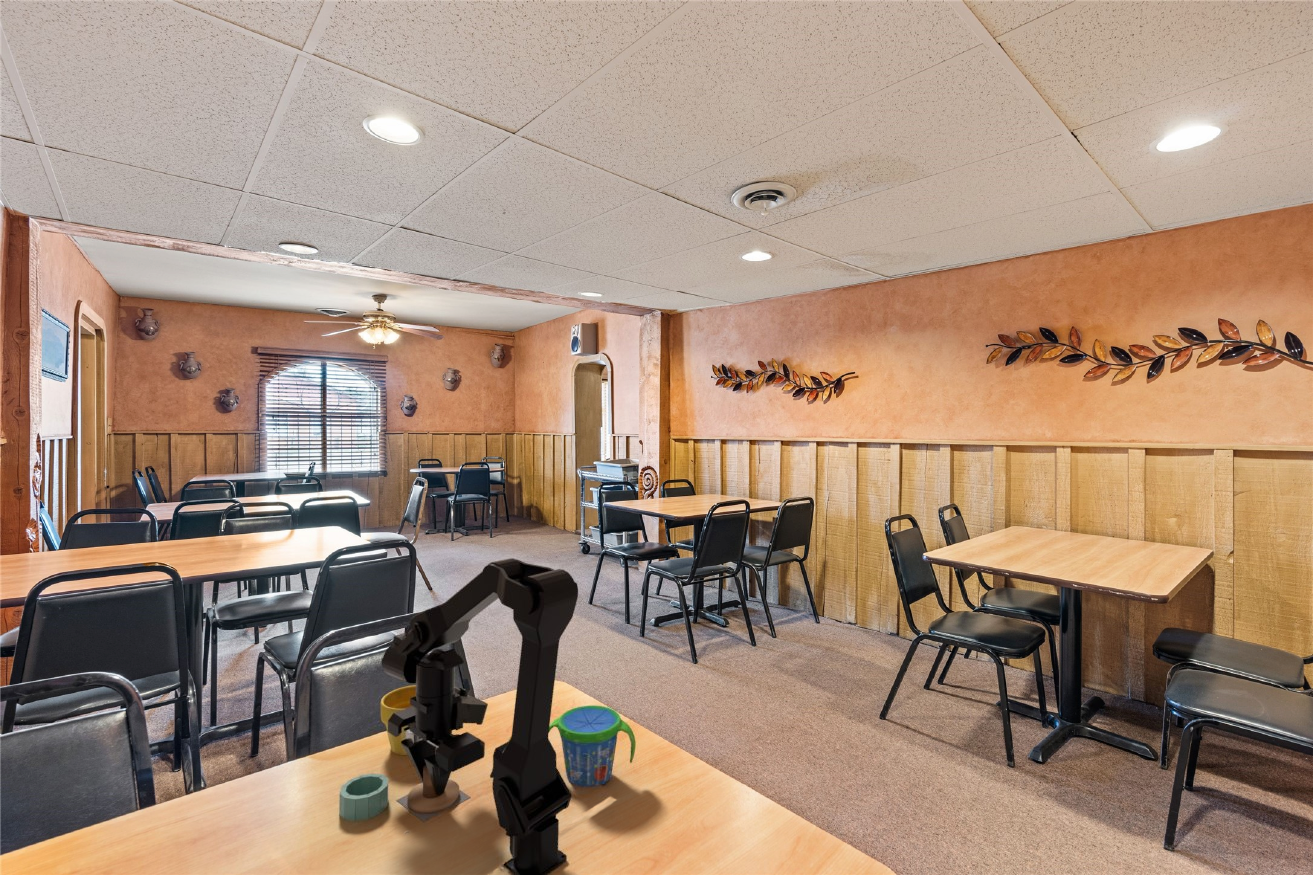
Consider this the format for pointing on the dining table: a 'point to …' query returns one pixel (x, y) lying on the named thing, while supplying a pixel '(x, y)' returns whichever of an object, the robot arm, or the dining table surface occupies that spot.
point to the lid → (431, 796)
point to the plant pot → (393, 704)
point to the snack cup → (590, 743)
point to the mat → (427, 816)
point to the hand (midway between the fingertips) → (433, 789)
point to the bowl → (363, 797)
